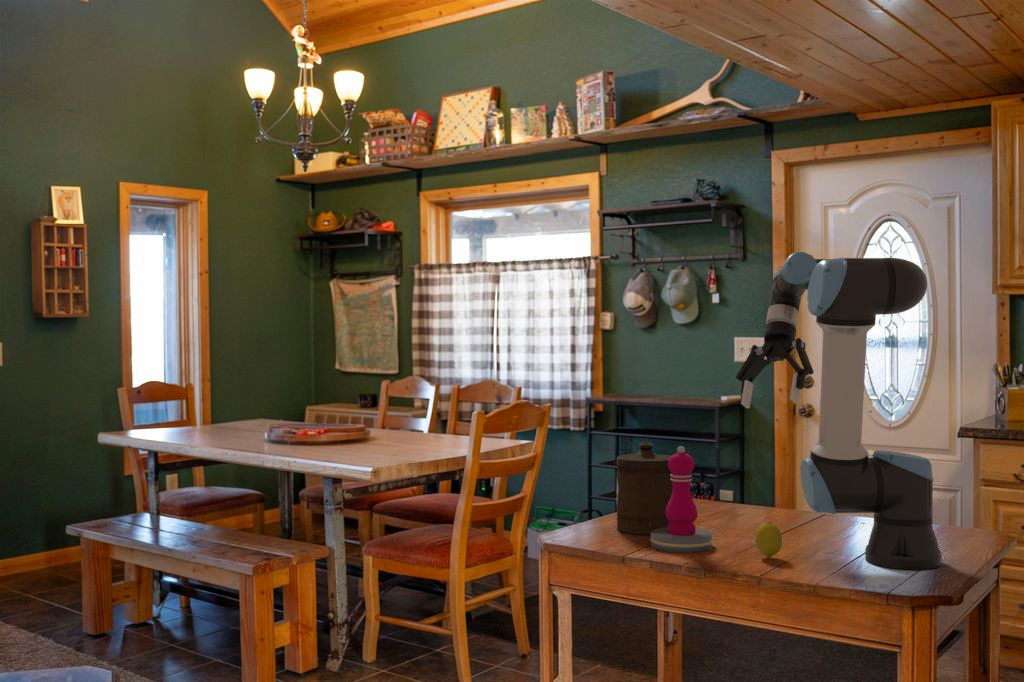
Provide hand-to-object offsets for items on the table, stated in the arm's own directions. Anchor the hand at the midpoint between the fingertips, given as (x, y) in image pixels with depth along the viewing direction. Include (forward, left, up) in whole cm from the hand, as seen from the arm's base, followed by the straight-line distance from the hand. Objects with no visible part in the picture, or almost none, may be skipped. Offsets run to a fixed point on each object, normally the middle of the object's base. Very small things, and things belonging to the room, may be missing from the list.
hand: (769, 403), depth 237 cm
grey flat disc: (-2, +26, -32) cm, 41 cm away
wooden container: (+18, +24, -32) cm, 44 cm away
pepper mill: (-2, +26, -29) cm, 39 cm away
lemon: (-20, +15, -32) cm, 41 cm away
